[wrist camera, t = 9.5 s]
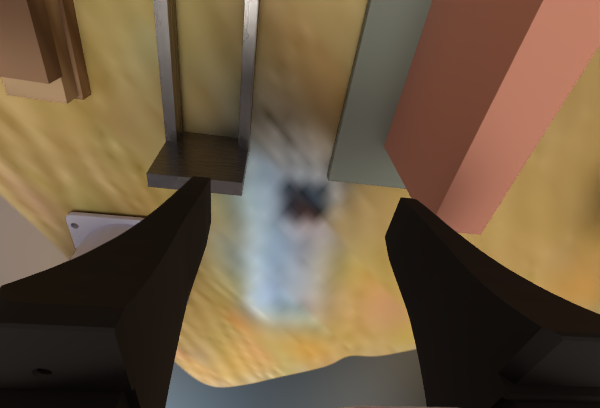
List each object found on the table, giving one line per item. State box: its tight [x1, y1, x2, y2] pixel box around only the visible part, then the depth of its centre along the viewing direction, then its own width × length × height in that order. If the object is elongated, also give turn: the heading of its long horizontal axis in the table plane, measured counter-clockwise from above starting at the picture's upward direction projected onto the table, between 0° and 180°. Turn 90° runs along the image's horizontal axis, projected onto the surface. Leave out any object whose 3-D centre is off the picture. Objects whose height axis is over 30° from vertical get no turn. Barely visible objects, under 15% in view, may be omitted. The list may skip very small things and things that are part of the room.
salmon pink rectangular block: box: [384, 0, 600, 235], centre depth 15 cm, size 10×2×8 cm, turn 171°
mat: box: [327, 0, 432, 189], centre depth 19 cm, size 16×8×1 cm, turn 171°
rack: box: [146, 0, 260, 196], centre depth 15 cm, size 14×5×5 cm, turn 171°
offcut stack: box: [0, 0, 91, 104], centre depth 15 cm, size 8×3×4 cm, turn 170°
